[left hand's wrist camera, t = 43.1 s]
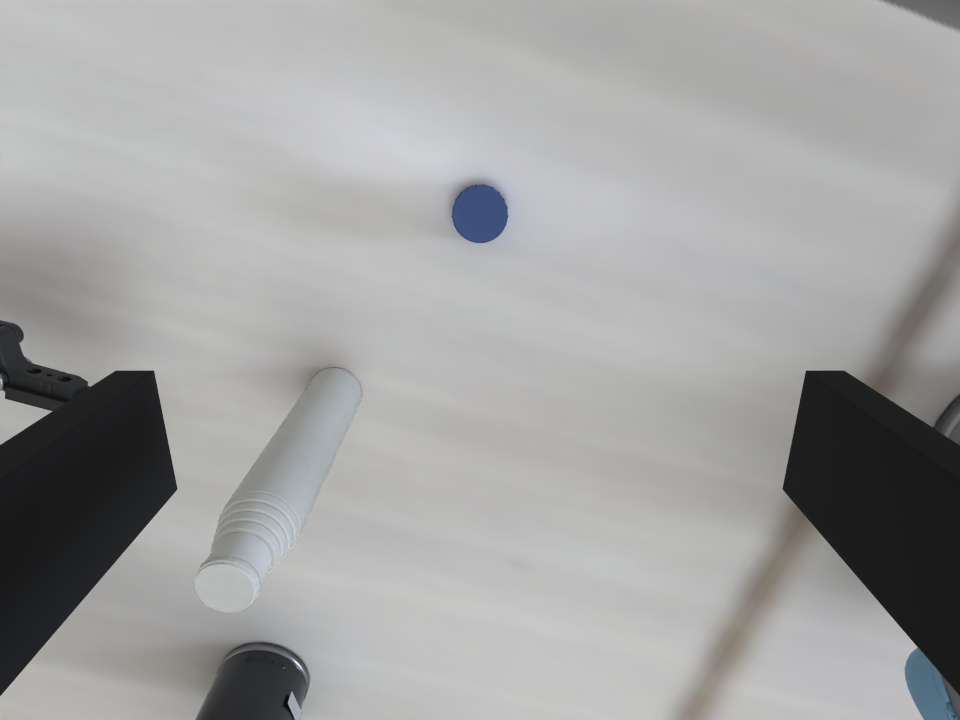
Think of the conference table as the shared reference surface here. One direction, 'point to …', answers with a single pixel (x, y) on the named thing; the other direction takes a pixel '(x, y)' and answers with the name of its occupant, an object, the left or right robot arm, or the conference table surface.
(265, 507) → the bottle
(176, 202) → the conference table surface
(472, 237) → the cap
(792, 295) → the conference table surface
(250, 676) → the right robot arm
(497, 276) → the conference table surface
